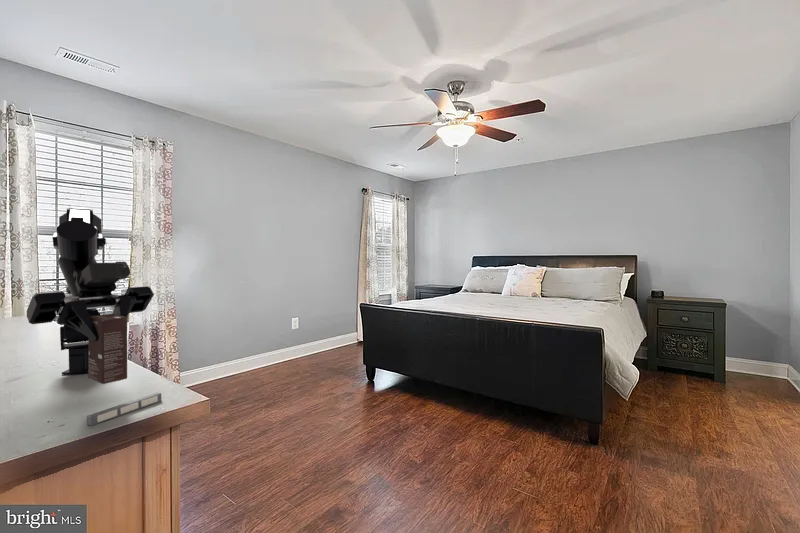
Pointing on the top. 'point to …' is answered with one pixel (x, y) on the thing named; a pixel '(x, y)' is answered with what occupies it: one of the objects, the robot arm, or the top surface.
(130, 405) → the rail
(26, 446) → the top surface
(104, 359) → the box
